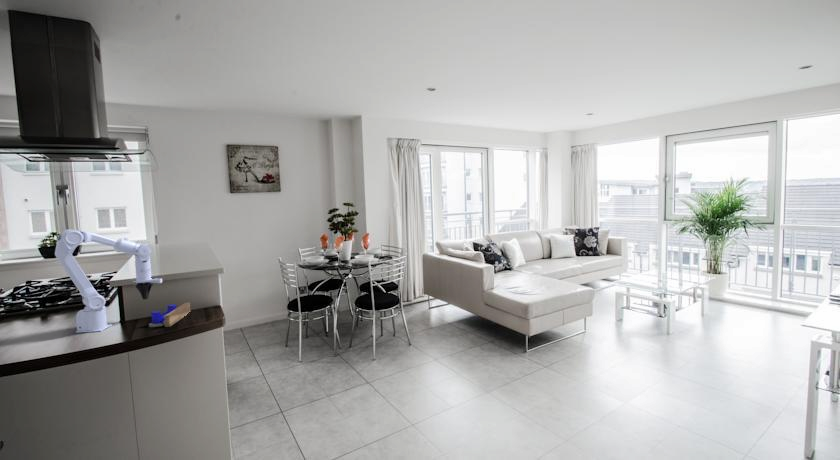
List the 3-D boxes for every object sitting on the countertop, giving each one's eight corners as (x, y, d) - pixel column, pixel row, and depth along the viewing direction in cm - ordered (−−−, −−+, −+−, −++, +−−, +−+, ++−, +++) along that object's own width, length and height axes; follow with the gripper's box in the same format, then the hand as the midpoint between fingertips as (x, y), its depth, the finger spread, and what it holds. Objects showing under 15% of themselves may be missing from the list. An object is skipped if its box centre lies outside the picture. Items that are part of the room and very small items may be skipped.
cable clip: (167, 317, 181) (166, 305, 180) (176, 317, 181) (176, 304, 180) (149, 325, 169) (148, 312, 168) (159, 325, 169) (158, 312, 168)
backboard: (165, 327, 166) (164, 315, 166) (186, 312, 187) (185, 302, 187) (170, 326, 167) (169, 315, 166) (190, 312, 187) (189, 302, 187)
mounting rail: (149, 327, 167) (148, 322, 166) (169, 314, 185) (169, 310, 184) (166, 326, 168) (166, 321, 168) (185, 313, 186) (184, 309, 186)
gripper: (164, 267, 182) (166, 295, 183) (131, 269, 180) (133, 297, 181) (157, 270, 175) (159, 299, 176) (122, 272, 173) (124, 301, 174)
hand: (145, 298), depth 178 cm, fingers closed
